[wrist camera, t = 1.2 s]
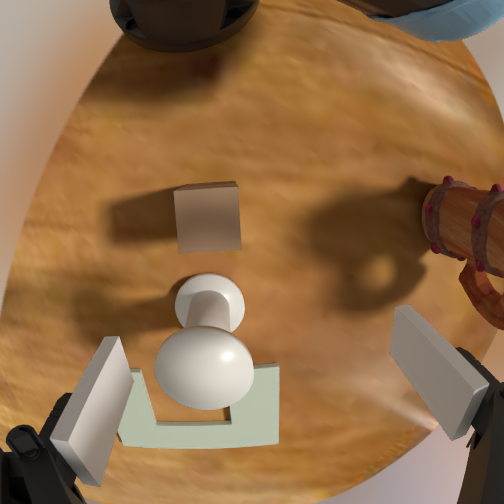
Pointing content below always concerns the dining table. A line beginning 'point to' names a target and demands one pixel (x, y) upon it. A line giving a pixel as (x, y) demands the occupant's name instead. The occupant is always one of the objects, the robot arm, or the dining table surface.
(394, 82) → the dining table surface
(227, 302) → the knob
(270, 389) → the notched board
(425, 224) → the mug
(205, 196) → the block
